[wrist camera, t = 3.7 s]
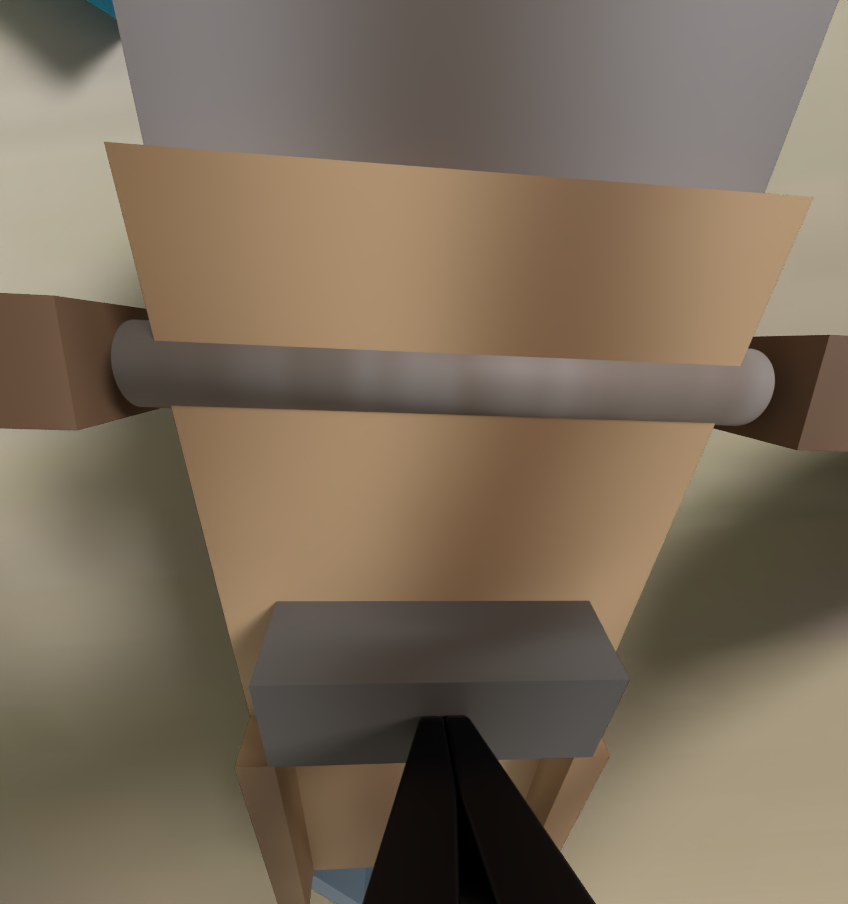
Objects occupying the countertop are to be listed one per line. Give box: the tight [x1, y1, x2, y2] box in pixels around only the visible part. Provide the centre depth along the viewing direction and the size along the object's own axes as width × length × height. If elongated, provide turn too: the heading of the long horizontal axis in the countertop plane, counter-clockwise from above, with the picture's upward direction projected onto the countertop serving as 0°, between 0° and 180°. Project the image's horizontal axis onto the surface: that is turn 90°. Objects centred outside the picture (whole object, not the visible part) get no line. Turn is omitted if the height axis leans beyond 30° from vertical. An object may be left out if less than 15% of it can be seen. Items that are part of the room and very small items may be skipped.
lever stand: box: [0, 293, 848, 452], centre depth 10 cm, size 14×9×10 cm, turn 87°
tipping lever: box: [104, 0, 839, 904], centre depth 10 cm, size 9×22×7 cm, turn 178°
